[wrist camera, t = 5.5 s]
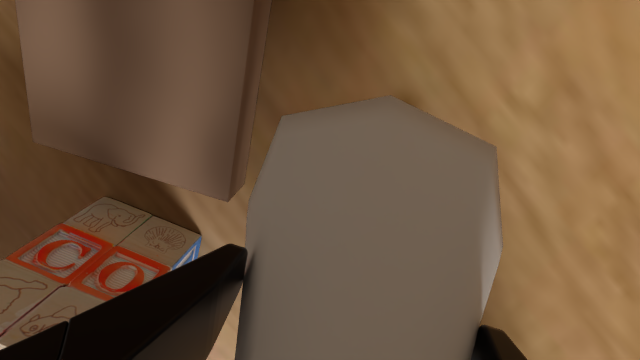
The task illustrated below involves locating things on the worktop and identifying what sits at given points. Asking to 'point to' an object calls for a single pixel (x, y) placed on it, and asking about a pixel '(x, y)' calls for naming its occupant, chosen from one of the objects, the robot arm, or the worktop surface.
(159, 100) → the plinth
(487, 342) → the robot arm
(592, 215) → the worktop surface
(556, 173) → the worktop surface
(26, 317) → the stack of blocks
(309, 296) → the flask
